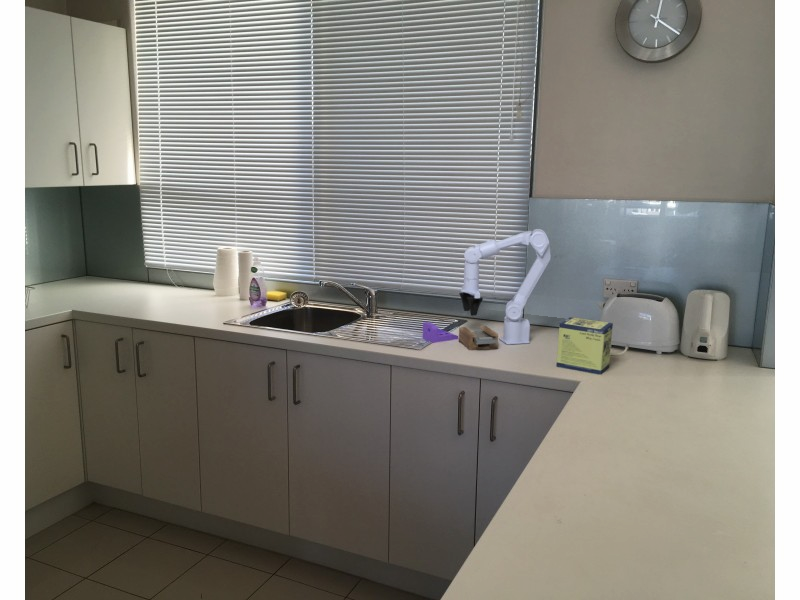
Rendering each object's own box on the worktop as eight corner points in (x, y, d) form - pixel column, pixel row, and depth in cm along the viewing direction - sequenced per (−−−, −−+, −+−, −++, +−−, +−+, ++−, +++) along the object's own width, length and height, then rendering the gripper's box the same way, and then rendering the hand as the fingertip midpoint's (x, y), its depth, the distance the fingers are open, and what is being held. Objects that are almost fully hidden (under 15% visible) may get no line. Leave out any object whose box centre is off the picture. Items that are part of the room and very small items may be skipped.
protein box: (601, 375, 222) (605, 329, 219) (555, 366, 230) (558, 322, 227) (610, 367, 231) (613, 322, 228) (565, 359, 239) (568, 316, 236)
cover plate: (485, 334, 258) (485, 329, 257) (497, 343, 247) (497, 338, 246) (465, 335, 256) (465, 330, 256) (476, 344, 245) (476, 339, 244)
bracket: (432, 343, 257) (433, 326, 255) (422, 339, 262) (422, 322, 261) (458, 339, 263) (458, 322, 261) (447, 335, 268) (448, 319, 267)
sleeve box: (485, 340, 262) (486, 326, 261) (497, 348, 250) (498, 334, 249) (458, 341, 259) (459, 327, 258) (469, 350, 248) (469, 335, 247)
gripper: (455, 275, 264) (454, 309, 267) (468, 282, 250) (466, 317, 253) (472, 274, 266) (471, 308, 268) (485, 281, 252) (484, 316, 255)
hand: (470, 313), depth 261 cm, fingers open, 7 cm apart
